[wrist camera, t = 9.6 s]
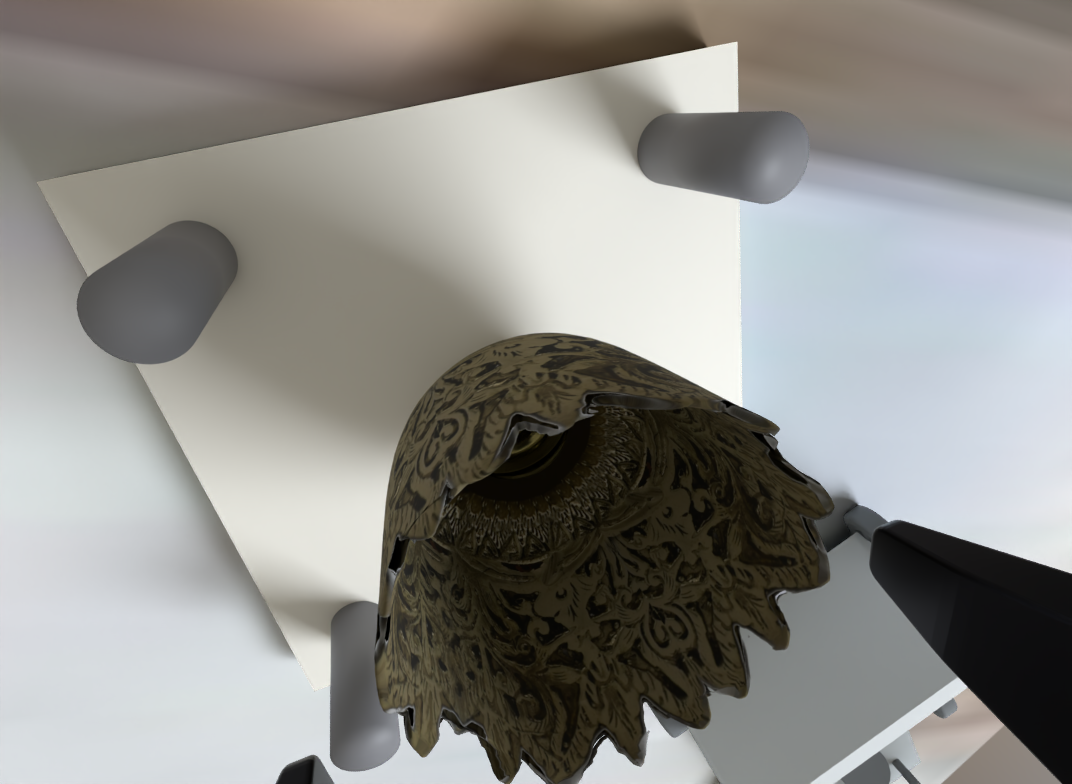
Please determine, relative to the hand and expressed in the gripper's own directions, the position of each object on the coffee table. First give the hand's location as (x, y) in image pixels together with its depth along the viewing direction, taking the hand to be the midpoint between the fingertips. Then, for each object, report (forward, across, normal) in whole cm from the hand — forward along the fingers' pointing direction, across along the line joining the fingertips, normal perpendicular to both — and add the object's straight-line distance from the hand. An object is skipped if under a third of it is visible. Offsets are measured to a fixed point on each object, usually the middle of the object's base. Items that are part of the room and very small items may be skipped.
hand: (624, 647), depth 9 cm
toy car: (+10, -11, +20) cm, 25 cm away
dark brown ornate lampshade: (+8, 0, 0) cm, 8 cm away
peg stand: (+9, 0, 0) cm, 9 cm away
